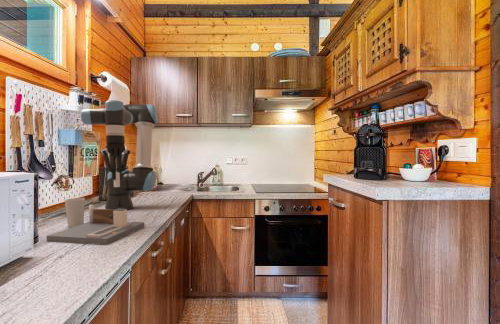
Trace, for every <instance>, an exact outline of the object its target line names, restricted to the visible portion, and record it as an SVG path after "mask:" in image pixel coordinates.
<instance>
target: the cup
mask: <svg viewBox="0 0 500 324" xmlns="http://www.w3.org/2000/svg"><path fill="white" fill-rule="evenodd" d="M85 202H86V198H85V197H75V198H74V197H73V198H68V199H67V198H66V199H64V205H65V212H66V222H67V227H69V228H72V227H75V226H78V225H81V224H84V221H85V204H86V203H85Z"/></svg>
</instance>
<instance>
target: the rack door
mask: <svg viewBox="0 0 500 324" xmlns="http://www.w3.org/2000/svg"><path fill="white" fill-rule="evenodd" d="M114 210H115V209H105V208H104V209H103V208H94V223H113V211H114ZM113 224H114V223H113Z"/></svg>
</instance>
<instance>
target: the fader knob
mask: <svg viewBox="0 0 500 324" xmlns="http://www.w3.org/2000/svg"><path fill="white" fill-rule="evenodd" d="M127 222H128V210H127V209H119V208H118V209H115V210H114V211H113V223H114V227H118V228H119V227H121V226H124V225H126V224H127Z"/></svg>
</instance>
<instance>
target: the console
mask: <svg viewBox="0 0 500 324" xmlns="http://www.w3.org/2000/svg"><path fill="white" fill-rule="evenodd" d="M94 206H95V204H89V205H88V214H89V221H88V222H85V223H84V224H81V225H78V226H75V227H69V228H66V229H63V230H60V231H57V232H53V233H50V234H47V235H46V242H55V243H56V242H57V243H58V242H59V243H73V244H74V243H75V244H89V243H94V244H93V245H106V244H107V245H108V243H109V244H110V242H111V243H113V242H116V241H117V240H119V239H121V238H124V237H125V236H128V235H130V234H132V233H134V232H136V231H138V230H141V229H143V228H144V227H145V222H142V221H127V224H126V225H124V226H121V227H119V228H118V227H114V224H113V223H94V209H95V207H94Z"/></svg>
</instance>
